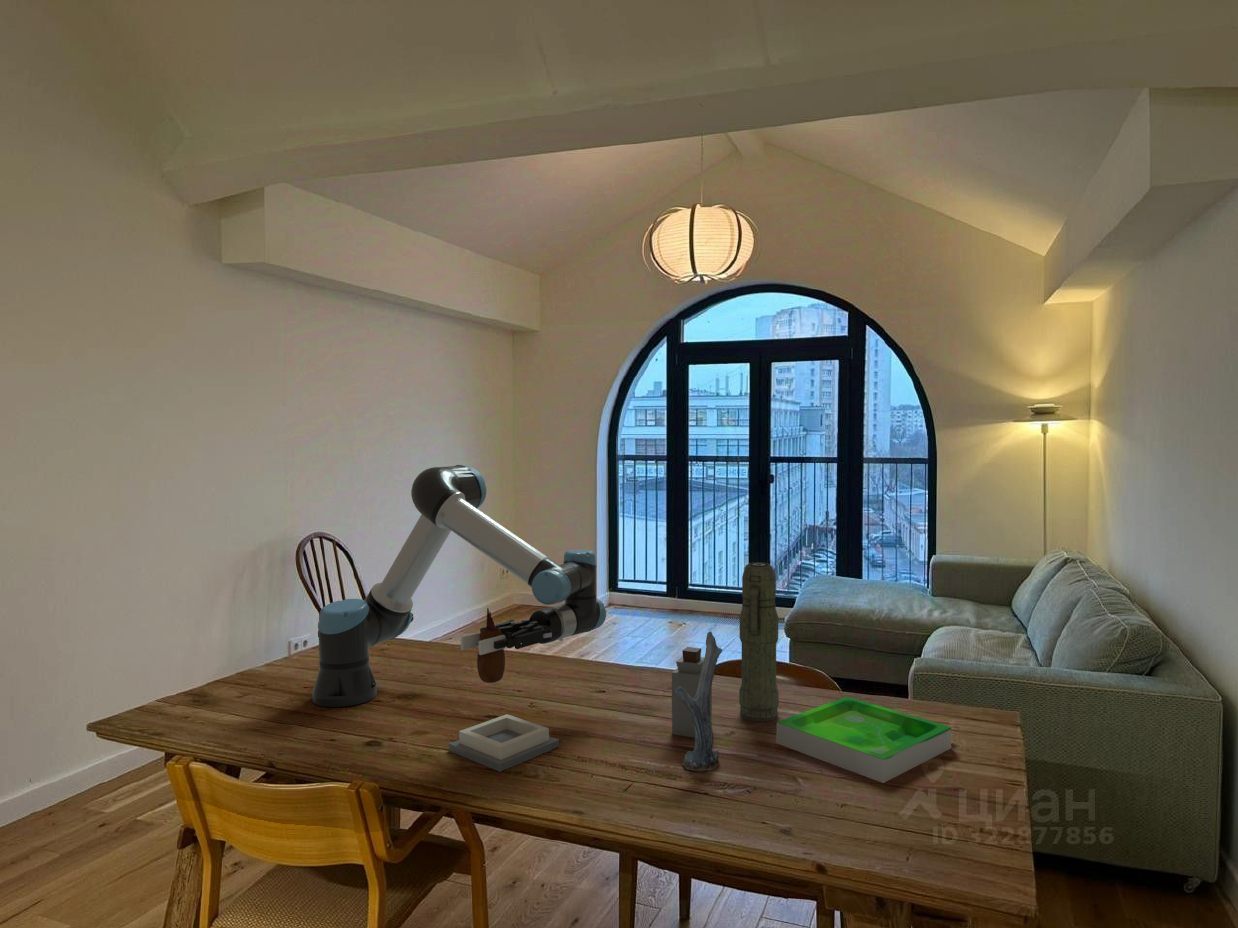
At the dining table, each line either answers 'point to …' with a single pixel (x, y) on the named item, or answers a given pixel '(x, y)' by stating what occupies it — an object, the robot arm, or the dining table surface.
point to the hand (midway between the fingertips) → (471, 645)
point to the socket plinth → (503, 742)
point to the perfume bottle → (689, 680)
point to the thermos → (759, 643)
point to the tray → (864, 737)
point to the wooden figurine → (491, 655)
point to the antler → (702, 712)
